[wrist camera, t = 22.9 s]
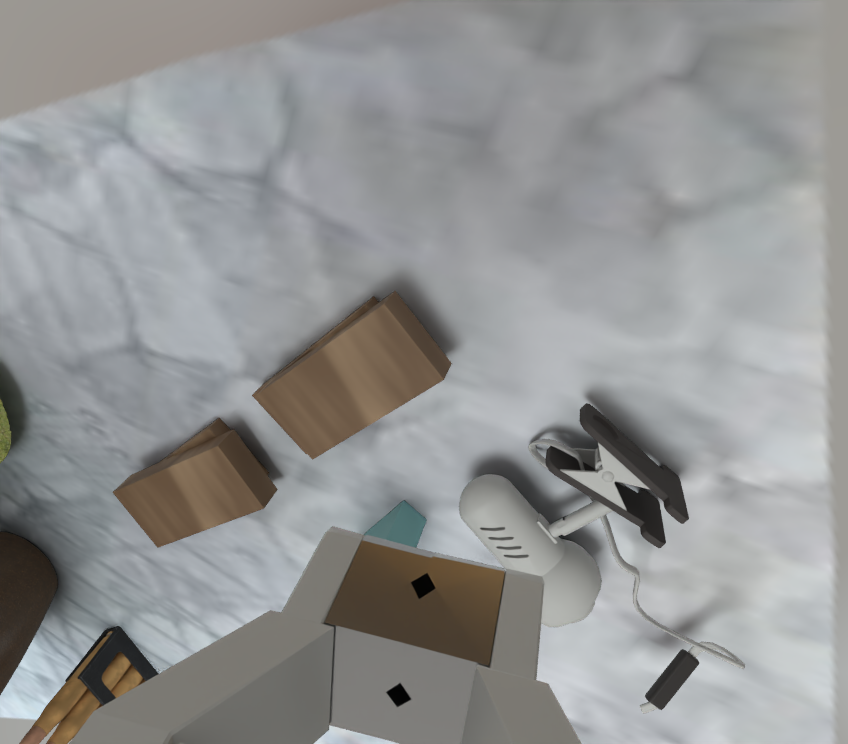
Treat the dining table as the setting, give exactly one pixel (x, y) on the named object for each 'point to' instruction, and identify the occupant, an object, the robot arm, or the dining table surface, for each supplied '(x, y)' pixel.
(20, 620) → the plant pot
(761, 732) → the dining table surface
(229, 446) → the walnut tile
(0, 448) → the green disc
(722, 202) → the dining table surface
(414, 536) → the teal tile
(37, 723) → the ammunition clip
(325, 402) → the walnut tile
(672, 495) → the clip-on lamp
